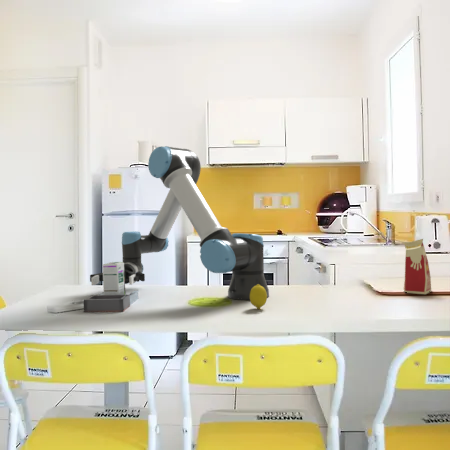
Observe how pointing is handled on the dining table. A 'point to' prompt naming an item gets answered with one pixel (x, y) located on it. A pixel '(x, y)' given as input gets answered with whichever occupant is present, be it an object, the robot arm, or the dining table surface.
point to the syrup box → (114, 278)
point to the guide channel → (132, 296)
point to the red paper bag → (416, 268)
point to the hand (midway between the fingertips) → (111, 281)
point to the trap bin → (106, 303)
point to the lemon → (258, 296)
